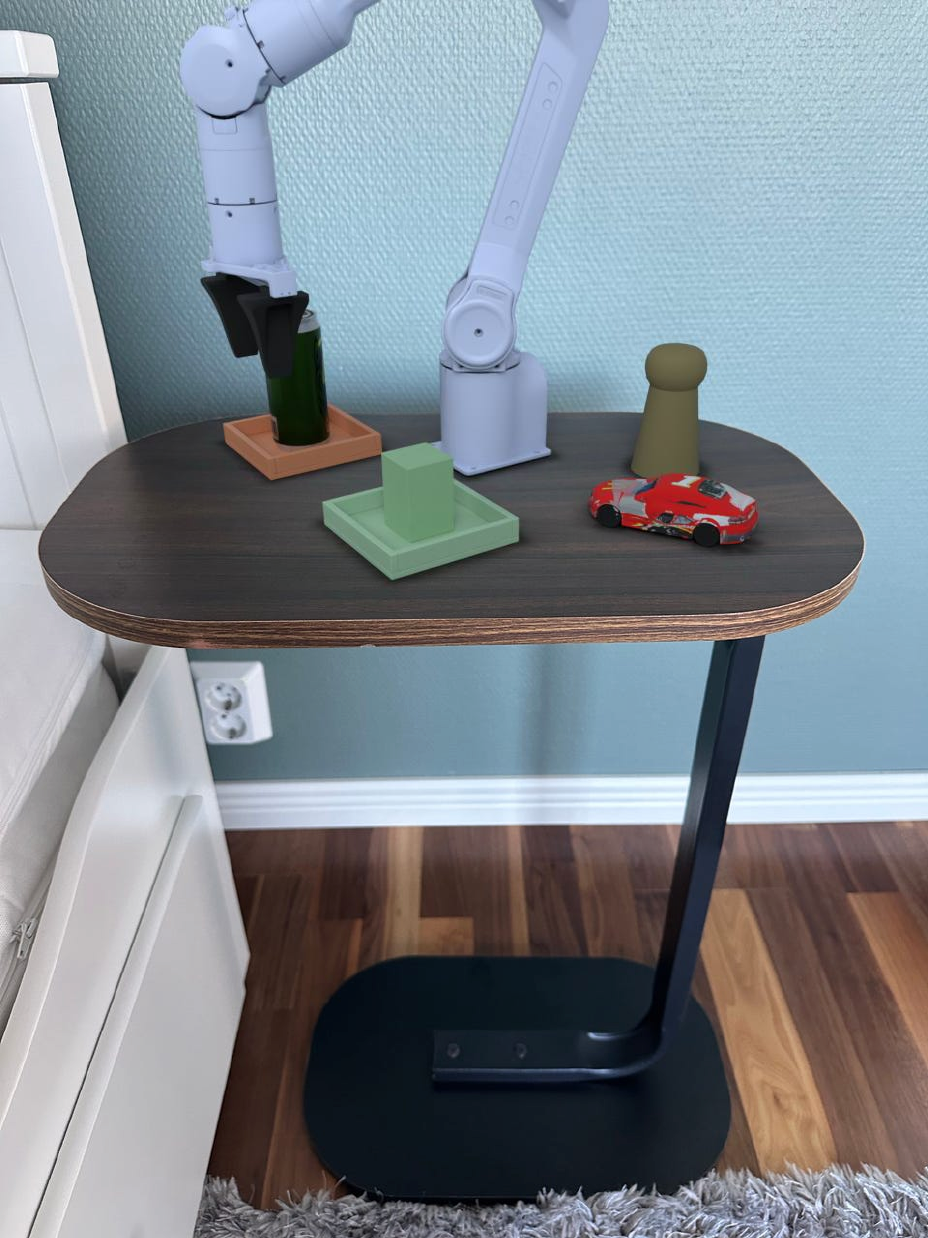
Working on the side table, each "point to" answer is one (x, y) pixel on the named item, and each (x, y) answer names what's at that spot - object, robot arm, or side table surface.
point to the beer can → (301, 393)
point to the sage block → (418, 491)
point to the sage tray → (396, 557)
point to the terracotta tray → (263, 453)
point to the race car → (677, 507)
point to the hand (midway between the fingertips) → (262, 365)
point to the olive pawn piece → (670, 412)
